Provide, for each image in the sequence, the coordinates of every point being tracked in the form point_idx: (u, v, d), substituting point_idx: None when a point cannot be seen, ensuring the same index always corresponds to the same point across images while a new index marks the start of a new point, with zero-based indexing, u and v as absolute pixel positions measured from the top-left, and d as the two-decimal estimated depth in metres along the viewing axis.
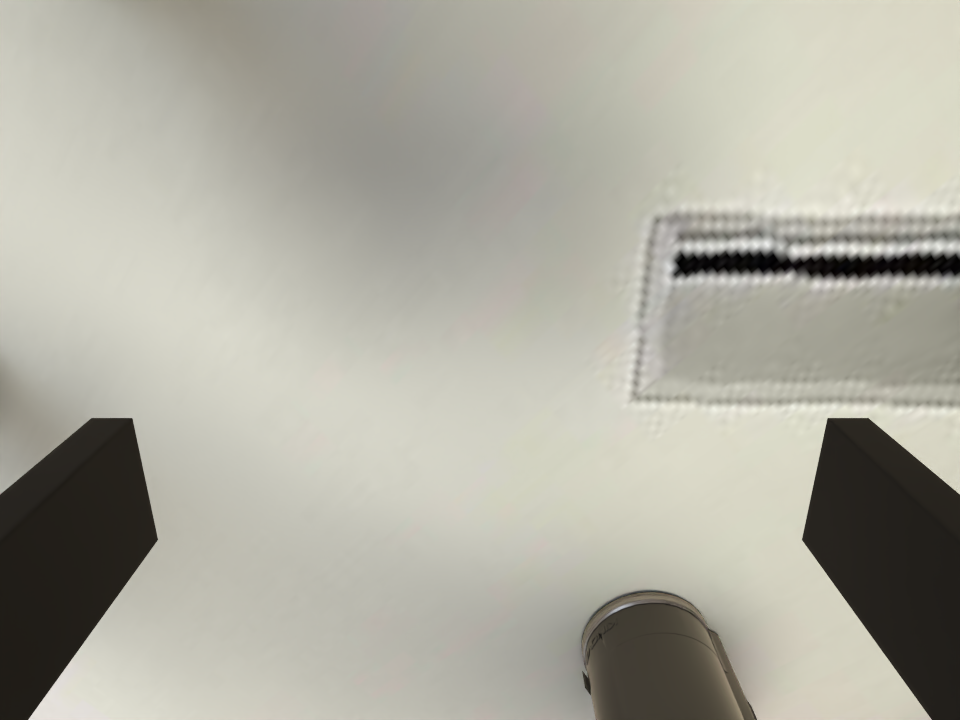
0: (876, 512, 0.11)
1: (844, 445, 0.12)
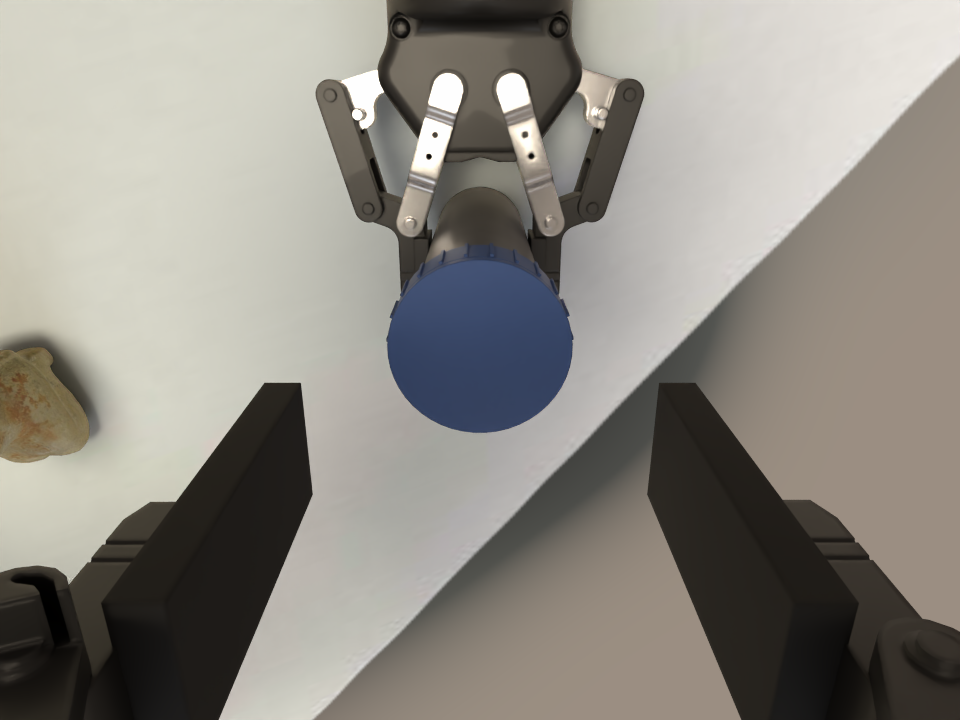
0: (681, 461, 0.12)
1: (666, 405, 0.13)
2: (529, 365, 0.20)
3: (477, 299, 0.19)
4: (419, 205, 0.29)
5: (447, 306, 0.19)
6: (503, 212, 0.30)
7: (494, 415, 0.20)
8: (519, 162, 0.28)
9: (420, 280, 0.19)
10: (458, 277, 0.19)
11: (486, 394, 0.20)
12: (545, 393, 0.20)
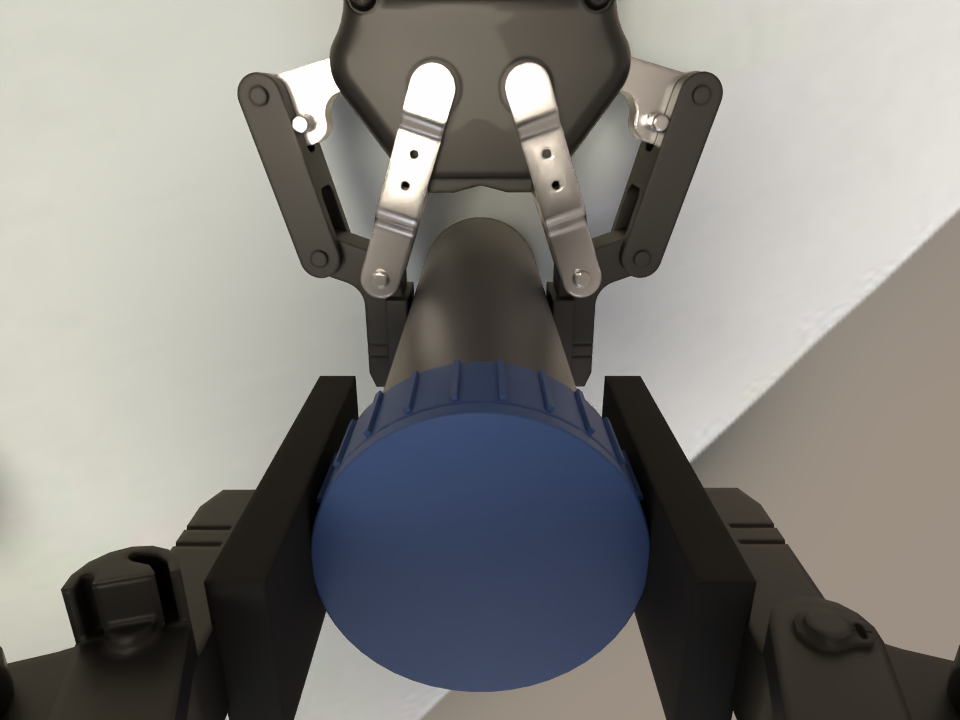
0: None
1: (610, 397, 0.14)
2: (570, 588, 0.11)
3: (475, 480, 0.10)
4: (393, 254, 0.20)
5: (419, 492, 0.10)
6: (513, 262, 0.21)
7: (506, 666, 0.11)
8: (538, 194, 0.19)
9: (367, 447, 0.10)
10: (439, 443, 0.10)
11: (490, 634, 0.11)
12: (598, 632, 0.11)
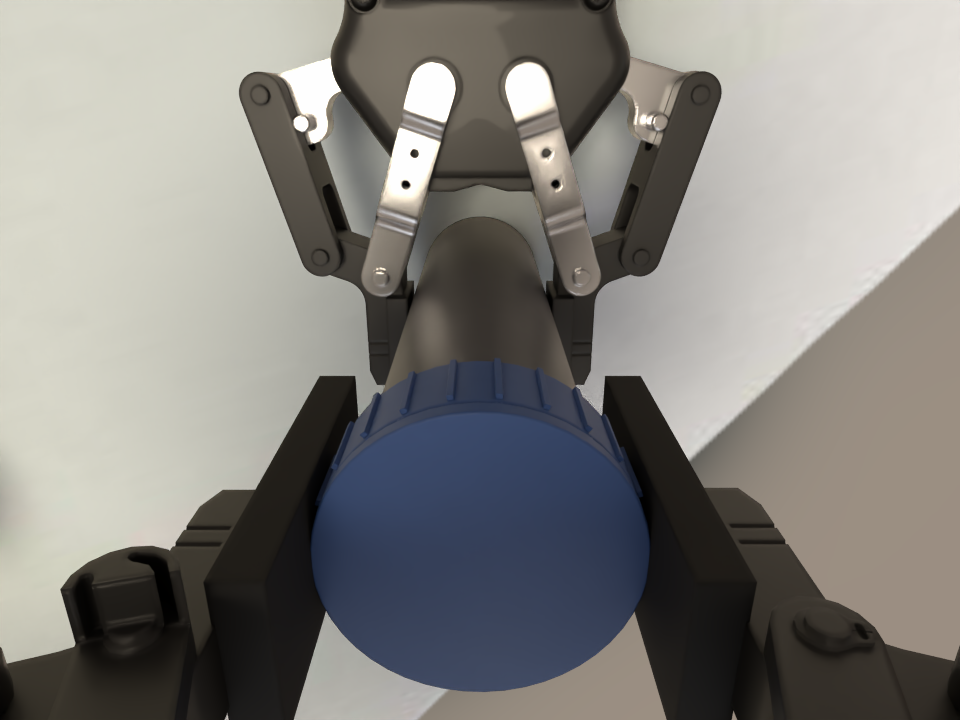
0: None
1: (610, 397, 0.14)
2: (502, 484, 0.10)
3: (383, 575, 0.11)
4: (393, 253, 0.20)
5: (403, 617, 0.11)
6: (513, 261, 0.21)
7: (612, 532, 0.10)
8: (537, 193, 0.19)
9: (365, 653, 0.11)
10: (349, 605, 0.11)
11: (567, 550, 0.11)
12: (560, 450, 0.10)
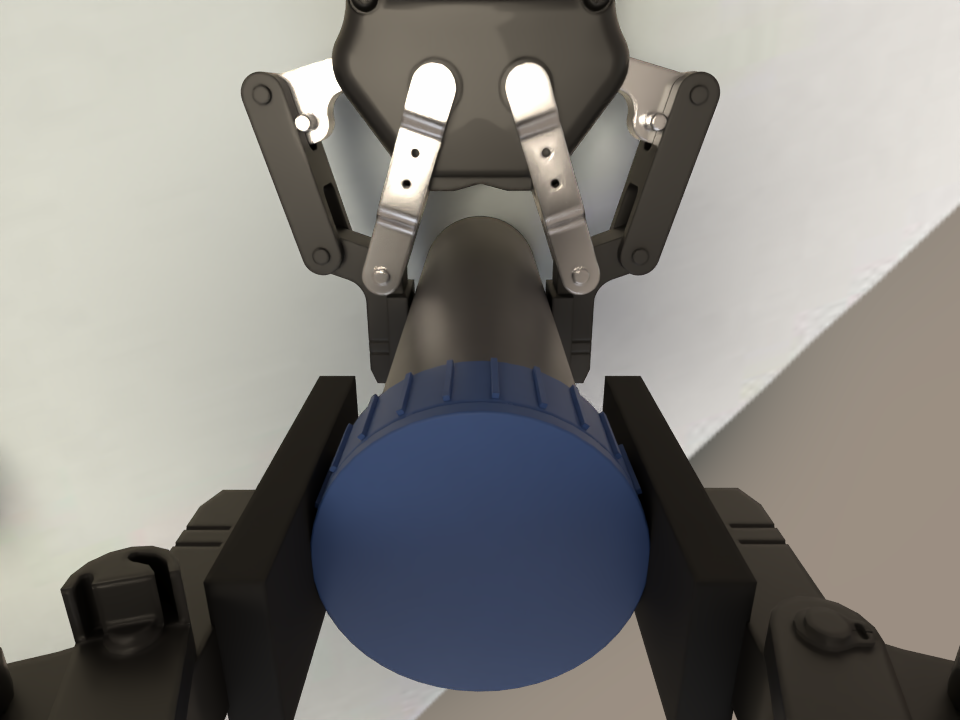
0: None
1: (610, 397, 0.14)
2: (384, 554, 0.11)
3: (501, 639, 0.11)
4: (394, 252, 0.21)
5: (550, 623, 0.11)
6: (513, 260, 0.21)
7: (426, 454, 0.10)
8: (537, 192, 0.19)
9: (599, 649, 0.11)
10: (538, 663, 0.11)
11: (452, 492, 0.10)
12: (338, 511, 0.10)
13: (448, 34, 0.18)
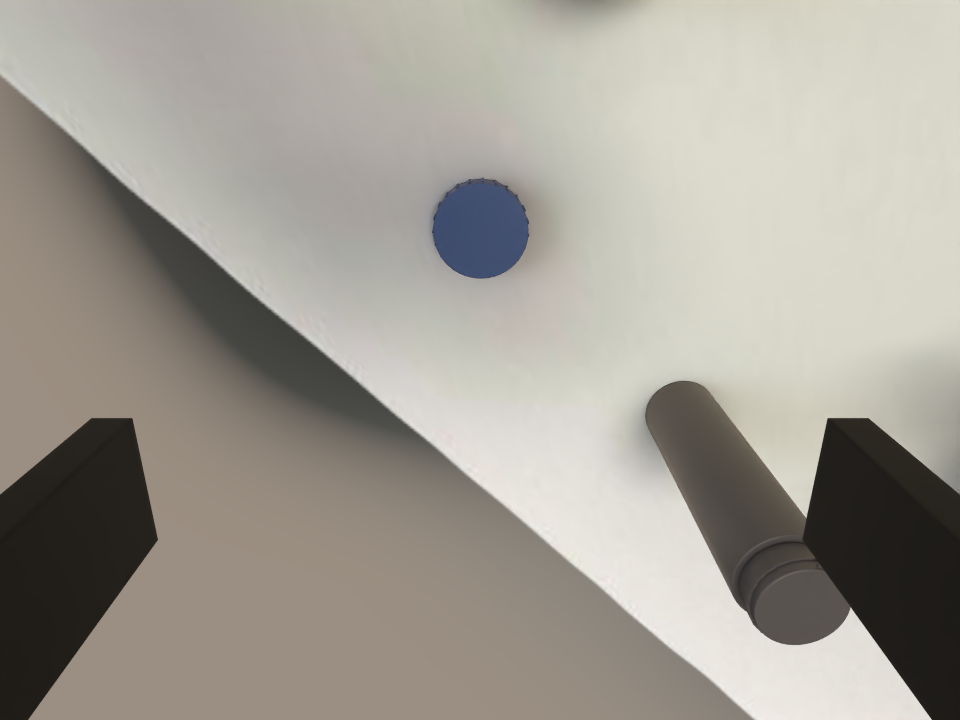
0: (876, 512, 0.11)
1: (844, 445, 0.12)
2: (507, 230, 0.38)
3: (469, 206, 0.38)
4: None
5: (457, 215, 0.38)
6: None
7: (500, 263, 0.39)
8: None
9: (439, 207, 0.38)
10: (456, 199, 0.37)
11: (492, 253, 0.39)
12: (521, 242, 0.38)
13: None
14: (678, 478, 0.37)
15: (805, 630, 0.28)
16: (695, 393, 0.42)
